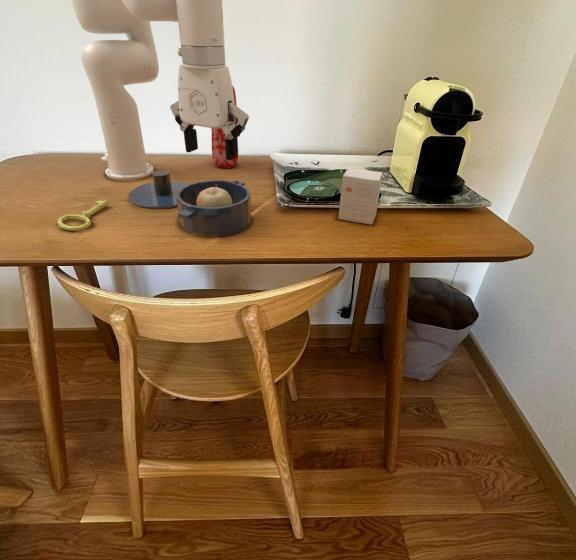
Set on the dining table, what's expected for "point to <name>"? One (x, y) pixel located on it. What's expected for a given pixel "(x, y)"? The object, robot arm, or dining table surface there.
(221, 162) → the water bottle
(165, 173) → the lid
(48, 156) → the dining table surface
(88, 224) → the key
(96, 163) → the dining table surface
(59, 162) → the dining table surface
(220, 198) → the fruit
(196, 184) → the pot
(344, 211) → the small box
